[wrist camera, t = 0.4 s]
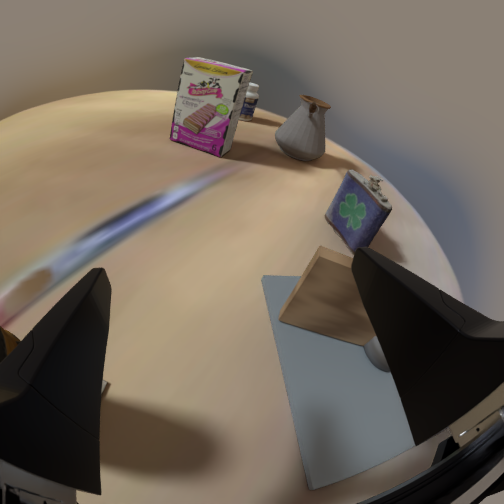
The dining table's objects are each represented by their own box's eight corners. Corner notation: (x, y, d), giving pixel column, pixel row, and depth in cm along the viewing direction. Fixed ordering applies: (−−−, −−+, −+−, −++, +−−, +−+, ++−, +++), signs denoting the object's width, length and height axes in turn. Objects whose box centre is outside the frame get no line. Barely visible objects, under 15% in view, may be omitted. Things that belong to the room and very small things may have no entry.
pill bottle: (240, 122, 64) (250, 86, 57) (227, 114, 66) (236, 80, 59) (255, 121, 67) (266, 87, 60) (242, 113, 69) (251, 81, 62)
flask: (320, 214, 43) (350, 157, 35) (334, 214, 44) (363, 159, 37) (353, 258, 38) (393, 199, 30) (366, 255, 39) (405, 199, 31)
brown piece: (429, 339, 29) (477, 296, 23) (434, 380, 24) (491, 341, 18) (283, 291, 28) (320, 226, 22) (273, 341, 24) (317, 280, 18)
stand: (449, 422, 22) (469, 412, 19) (309, 489, 16) (328, 490, 13) (392, 281, 36) (404, 266, 34) (261, 279, 30) (270, 260, 28)
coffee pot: (277, 136, 63) (296, 80, 52) (321, 154, 62) (345, 99, 52) (252, 169, 47) (278, 89, 37) (314, 194, 47) (349, 117, 37)
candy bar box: (168, 140, 48) (182, 57, 36) (181, 133, 51) (196, 56, 40) (220, 159, 47) (244, 71, 36) (231, 150, 51) (254, 69, 39)
